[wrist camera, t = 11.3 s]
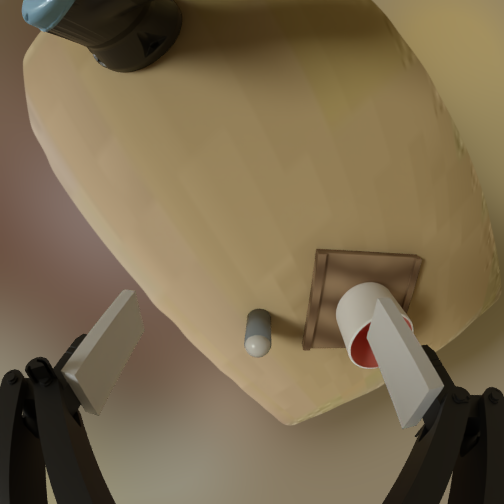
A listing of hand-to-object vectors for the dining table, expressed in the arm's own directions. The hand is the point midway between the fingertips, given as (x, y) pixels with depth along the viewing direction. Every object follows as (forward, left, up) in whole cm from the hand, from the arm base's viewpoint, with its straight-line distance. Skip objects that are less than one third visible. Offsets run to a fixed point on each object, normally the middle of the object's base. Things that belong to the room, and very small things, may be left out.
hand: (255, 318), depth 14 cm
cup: (+14, +17, -26) cm, 34 cm away
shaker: (+18, 0, -27) cm, 33 cm away
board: (+14, +17, -27) cm, 35 cm away
